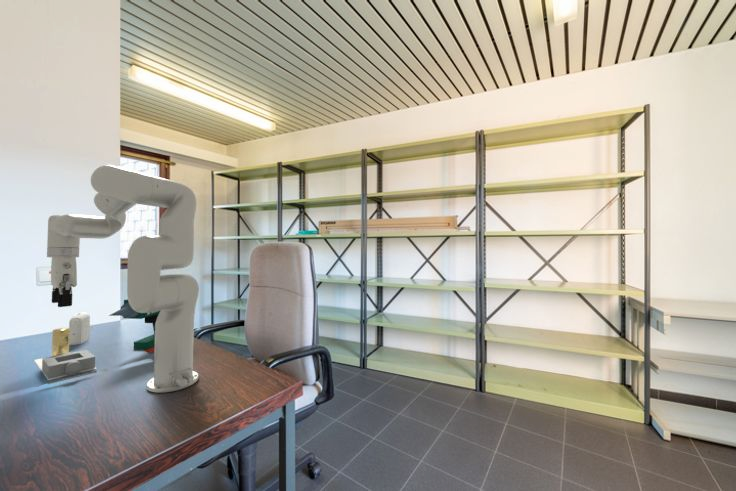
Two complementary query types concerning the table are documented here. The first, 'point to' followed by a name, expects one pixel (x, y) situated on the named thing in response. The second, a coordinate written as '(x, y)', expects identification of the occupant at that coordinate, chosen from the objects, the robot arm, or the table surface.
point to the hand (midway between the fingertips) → (61, 304)
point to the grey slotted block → (67, 365)
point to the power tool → (151, 317)
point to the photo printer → (79, 328)
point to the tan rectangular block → (60, 341)
